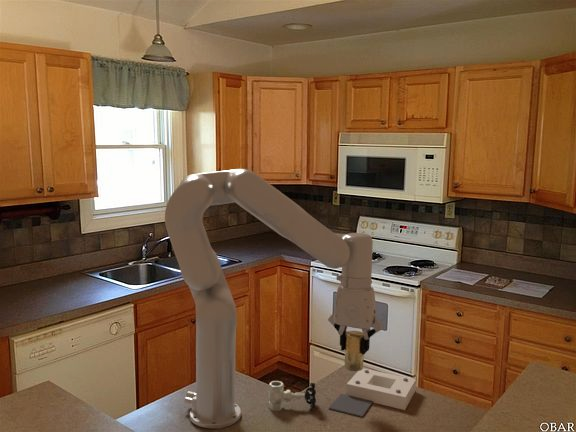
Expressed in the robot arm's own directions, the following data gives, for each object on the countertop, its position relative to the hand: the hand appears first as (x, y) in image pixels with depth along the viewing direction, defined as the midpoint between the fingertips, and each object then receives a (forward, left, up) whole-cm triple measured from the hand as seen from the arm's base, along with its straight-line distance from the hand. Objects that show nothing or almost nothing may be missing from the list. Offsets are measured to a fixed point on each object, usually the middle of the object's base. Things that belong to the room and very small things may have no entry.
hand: (354, 350), depth 134 cm
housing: (+5, +10, -15) cm, 19 cm away
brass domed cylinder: (0, 0, -5) cm, 5 cm away
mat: (0, 0, -15) cm, 15 cm away
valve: (-14, -9, -15) cm, 22 cm away
